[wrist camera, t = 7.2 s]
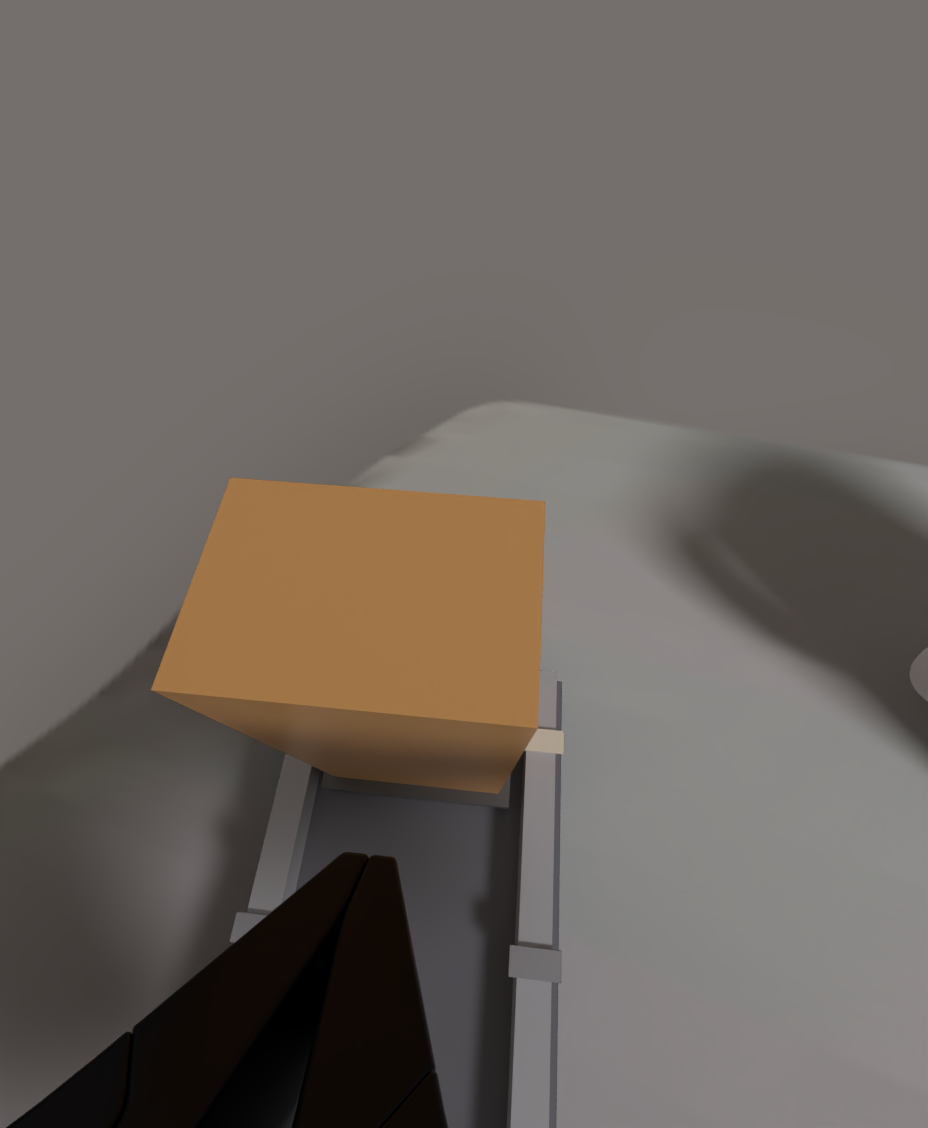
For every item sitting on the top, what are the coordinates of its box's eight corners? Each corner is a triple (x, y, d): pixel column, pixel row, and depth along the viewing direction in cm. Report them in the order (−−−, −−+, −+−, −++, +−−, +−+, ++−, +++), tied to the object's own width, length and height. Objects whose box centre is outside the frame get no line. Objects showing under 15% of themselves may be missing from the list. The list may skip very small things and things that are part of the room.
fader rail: (541, 1421, 11) (560, 1581, 9) (164, 1357, 11) (86, 1491, 9) (554, 693, 18) (568, 671, 15) (321, 671, 18) (299, 646, 16)
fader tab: (506, 809, 14) (565, 760, 6) (327, 789, 15) (114, 713, 6) (514, 679, 16) (567, 484, 7) (353, 665, 16) (216, 459, 8)
